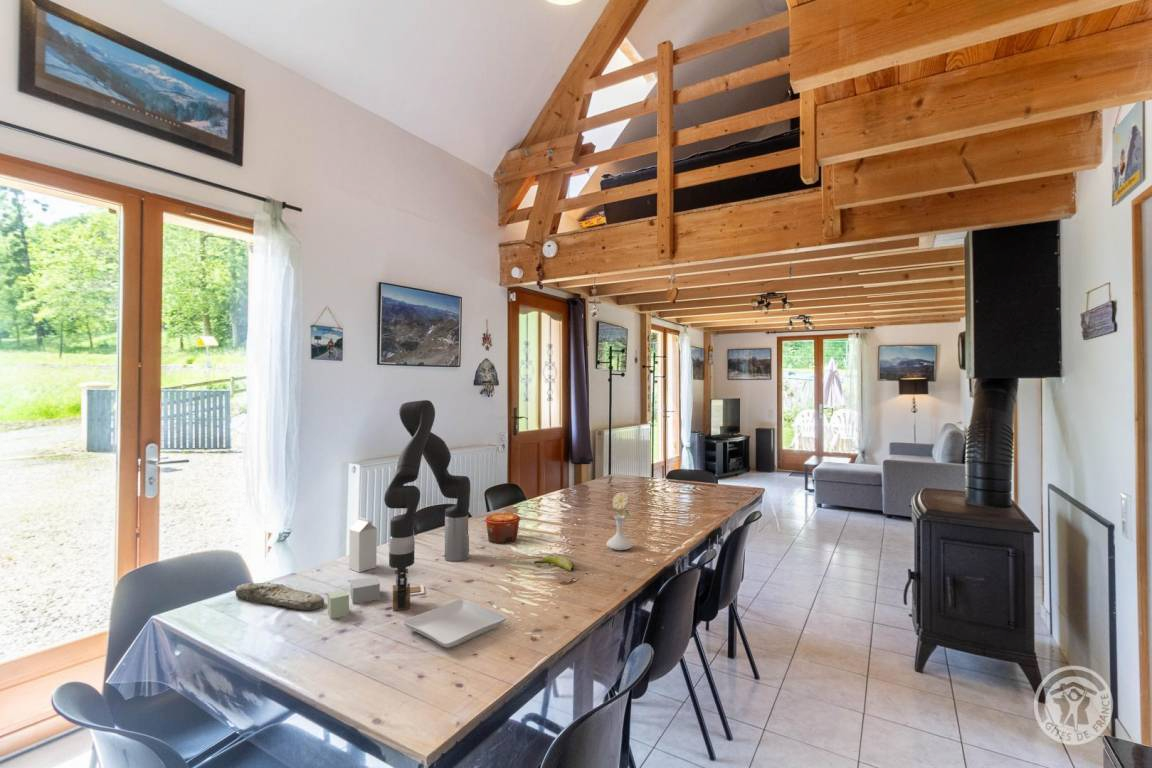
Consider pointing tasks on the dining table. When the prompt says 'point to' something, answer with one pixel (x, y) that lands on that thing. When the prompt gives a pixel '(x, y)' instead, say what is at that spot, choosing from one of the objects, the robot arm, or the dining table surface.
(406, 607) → the walnut block
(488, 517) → the food container
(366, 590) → the base block
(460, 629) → the salad plate
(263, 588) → the long grey stone
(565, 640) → the dining table surface
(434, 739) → the dining table surface
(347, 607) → the sage block
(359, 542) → the milk carton
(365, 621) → the dining table surface
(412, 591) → the swatch
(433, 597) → the dining table surface
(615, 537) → the flower in vase
